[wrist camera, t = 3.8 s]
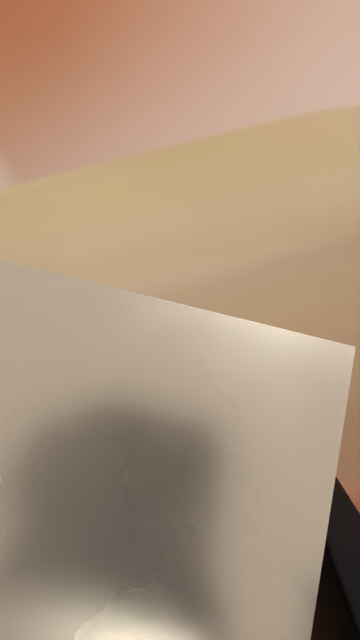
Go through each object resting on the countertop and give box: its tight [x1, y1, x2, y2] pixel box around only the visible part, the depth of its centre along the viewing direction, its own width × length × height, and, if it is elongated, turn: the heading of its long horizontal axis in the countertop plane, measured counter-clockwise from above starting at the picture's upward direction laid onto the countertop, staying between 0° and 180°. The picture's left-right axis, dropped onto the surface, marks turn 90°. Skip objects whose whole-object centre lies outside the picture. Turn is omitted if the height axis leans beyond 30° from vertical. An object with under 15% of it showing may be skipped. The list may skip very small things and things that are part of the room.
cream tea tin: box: [0, 260, 356, 640], centre depth 10 cm, size 6×6×11 cm
